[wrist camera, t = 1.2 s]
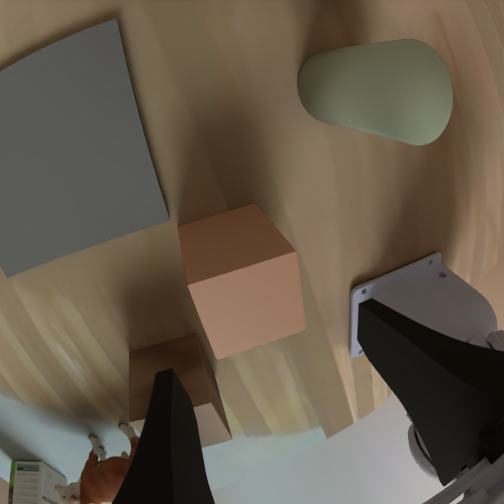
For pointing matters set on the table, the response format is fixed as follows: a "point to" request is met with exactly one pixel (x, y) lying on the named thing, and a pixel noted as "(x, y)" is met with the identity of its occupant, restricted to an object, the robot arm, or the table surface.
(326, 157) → the table surface
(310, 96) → the sage cylinder
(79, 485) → the bull figurine
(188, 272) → the terracotta brick
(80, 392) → the table surface
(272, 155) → the table surface
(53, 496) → the syrup box
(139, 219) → the slate mat
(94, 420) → the table surface
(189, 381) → the walnut block
